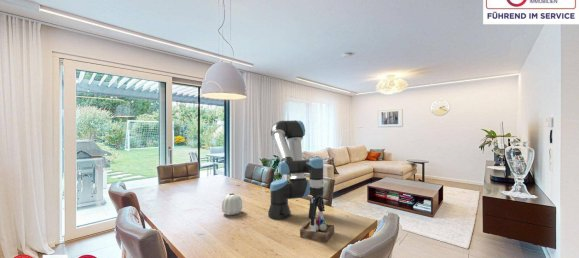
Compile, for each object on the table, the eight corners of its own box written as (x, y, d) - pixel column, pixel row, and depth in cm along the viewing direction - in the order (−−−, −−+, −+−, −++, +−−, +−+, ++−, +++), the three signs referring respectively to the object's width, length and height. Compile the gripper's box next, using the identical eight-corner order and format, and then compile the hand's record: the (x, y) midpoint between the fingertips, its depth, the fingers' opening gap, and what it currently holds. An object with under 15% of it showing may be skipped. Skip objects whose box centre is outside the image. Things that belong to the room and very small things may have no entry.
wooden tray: (300, 236, 126) (299, 229, 126) (309, 227, 138) (309, 220, 138) (326, 242, 119) (326, 234, 119) (334, 232, 131) (334, 224, 131)
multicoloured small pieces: (308, 226, 132) (307, 213, 132) (325, 225, 133) (324, 212, 133) (310, 233, 124) (310, 219, 124) (328, 232, 124) (328, 218, 124)
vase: (217, 215, 160) (217, 195, 159) (230, 208, 172) (229, 190, 172) (234, 218, 154) (234, 197, 154) (246, 211, 167) (246, 192, 167)
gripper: (315, 192, 116) (316, 236, 116) (329, 182, 137) (330, 220, 137) (301, 190, 119) (302, 234, 119) (317, 181, 140) (318, 218, 140)
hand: (317, 226), depth 128 cm, fingers open, 11 cm apart
